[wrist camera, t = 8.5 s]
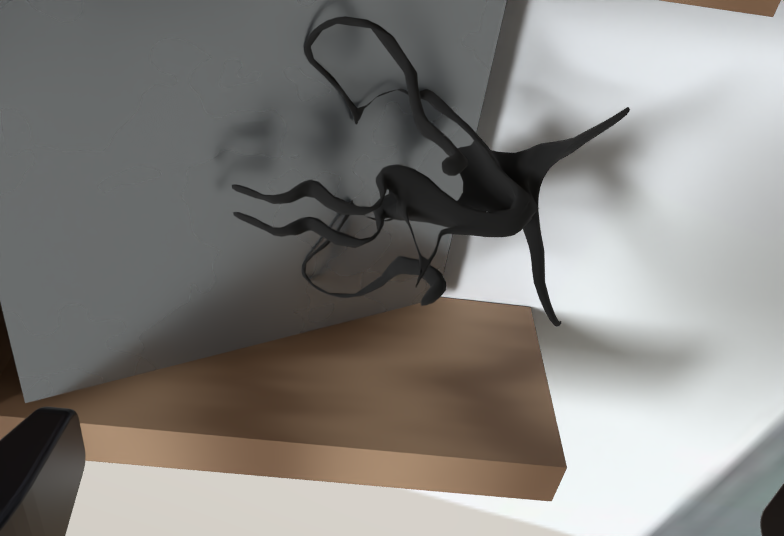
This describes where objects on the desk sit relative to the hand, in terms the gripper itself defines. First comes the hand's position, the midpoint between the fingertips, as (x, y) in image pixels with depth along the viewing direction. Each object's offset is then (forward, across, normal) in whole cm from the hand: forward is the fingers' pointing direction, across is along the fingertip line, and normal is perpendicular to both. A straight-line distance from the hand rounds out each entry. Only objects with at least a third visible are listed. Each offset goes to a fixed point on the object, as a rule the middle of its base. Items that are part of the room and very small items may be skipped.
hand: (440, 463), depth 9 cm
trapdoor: (+10, +4, +2) cm, 11 cm away
